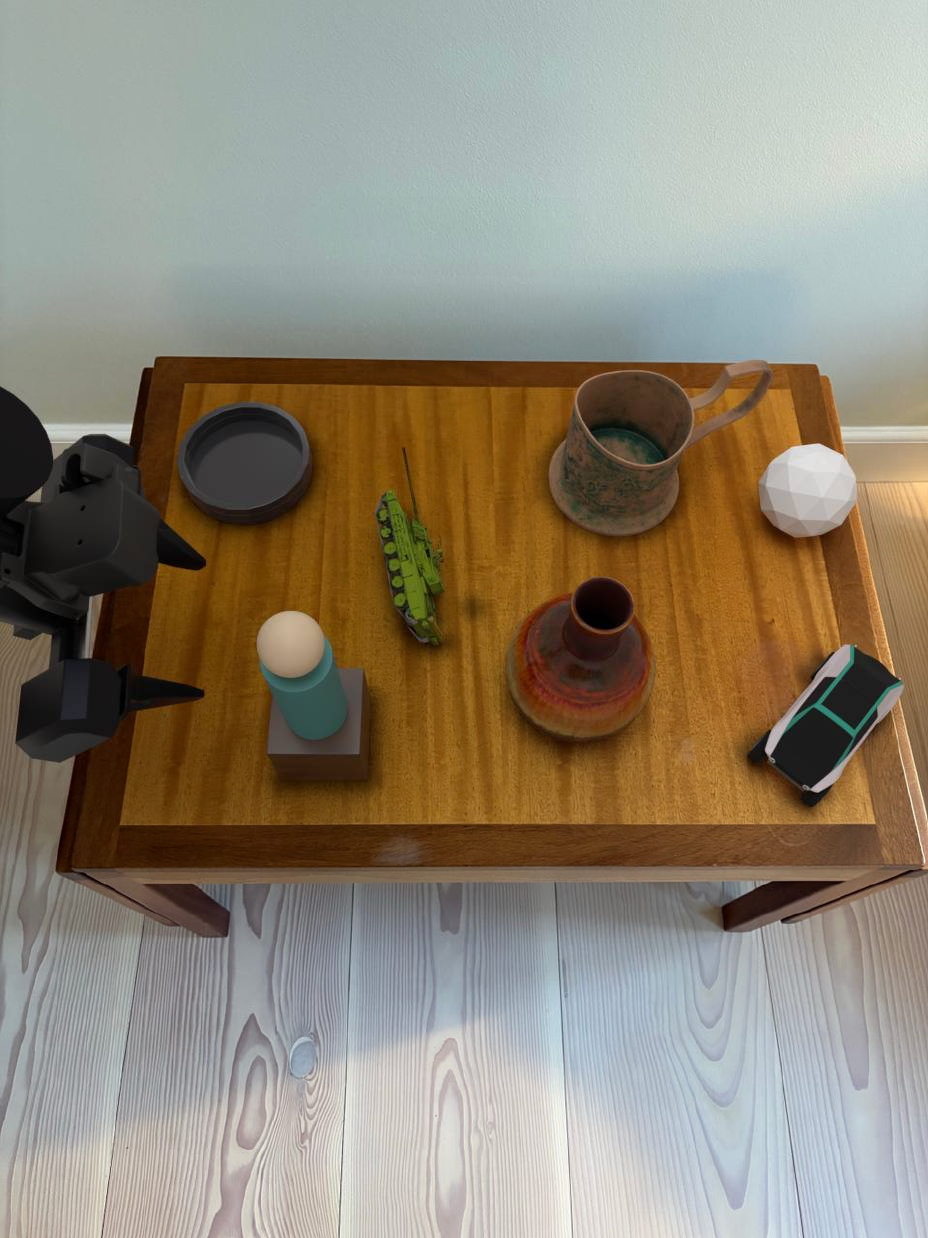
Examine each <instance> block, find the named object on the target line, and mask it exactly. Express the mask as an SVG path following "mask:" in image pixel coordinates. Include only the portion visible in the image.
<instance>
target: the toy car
mask: <svg viewBox="0 0 928 1238" xmlns="http://www.w3.org/2000/svg"><path fill="white" fill-rule="evenodd" d="M857 646H858V645H857V644H855V645H854V644H843V645H842V646H841V647H840V648H838V649H837V650H836V651H831V653H829V654H828V655H827V656H826V658H825V659H823V661H822V662H821V663H820V664H819V665H818V667H816V669H815V670H814V671H813V672H812V673H811V676H810V679H811V680H812V682H811V683H809V685H808V686H807V687H806V688H805V689H804V691H802V693H801V694H800V695H798V696H799V697H798V698H797V699H796V700H795V701H794V702H793V704H792V705H791V706H790V708H788V710H787V711H786V712H785V713H784V715H783V716H782V717H781V718H780V719H779V720H778V721H777V722H776V723H775V725H774V726H773V728H772V729H767V730H766V731H765V733H763V735H762V736H760V738H759V739H758V740H757V741H756V742H755V744H753V746H751V748H750V750H749V751H748V753H747V754H746V758H748V760H749V761H751V762H752V763H754V764H755V765H758V764H760V762H762V761H763V760H764V759H765V758H767V761H766V763H767V764H768V765H770V766H771V767H772V768H773V769H775V770H776V771H777V772H778V773H779V774H780V775H781V776H783V777H784V778H785V779H786V780H788V781H789V782H790V783H792V784H793V785H794V786H796V787H797V788H798V789H799V790H801V791H802V794H801V796H800V797H799V800H800V801H801V803H802V804H803V805H804V806H806V807H808V808H809V809H812V808H814V807H816V805H817V804H819V803H820V802H821V801H822V799H824V798H825V796H826V795H827V794H828V793H829V791H830V790H831V789H832V787H833V786H834V784H835V783H836V782H837V781H838V780H839V779H840V777H841V776H842V774H843V771H844V769H845V767H846V765H848V763H849V761H850V760H851V758H852V757H853V756H854V754H855V753H856V752H857V751H858V749H859V748H860V746H861V745H862V744H863V742H864V741H865V740H866V738H867V737H868V735H869V734H870V733H871V731H872V730H873V729H874V728H875V727H876V725H877V724H878V723H880V722H881V721H882V720H884V718H885V717H886V716H887V715H888V714H889V712H890V711H892V709H893V708H894V706H895V705H896V704H897V702H898V700H899V699H900V697H901V695H902V693H903V692H904V689H905V687H904V686H905V685H904V683H903V681H902V680H901V679H902V678H901V677H899V678H898V677H897V676H895V675H894V674H893V673H892V672H891V671H890V670H889V669H888V668H887V667H886V666H885V664H884V663H882V662H881V660H878V659H877V658H876V657H873V656H871V655H870V654H867V653H865V652H863V651H861V650H860V649H859V648H857Z"/></svg>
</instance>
